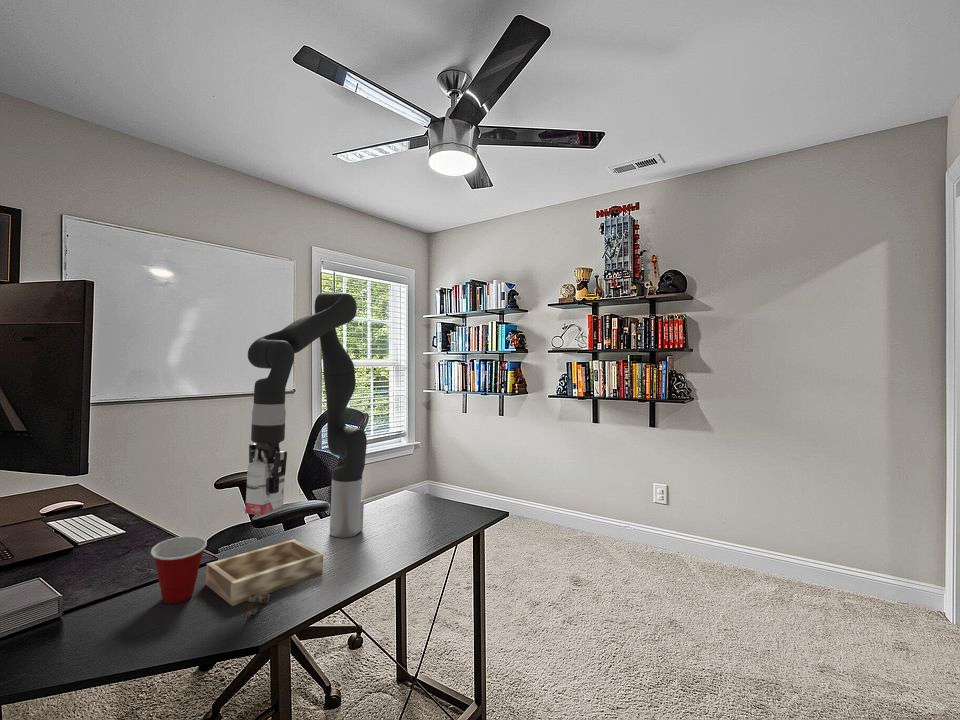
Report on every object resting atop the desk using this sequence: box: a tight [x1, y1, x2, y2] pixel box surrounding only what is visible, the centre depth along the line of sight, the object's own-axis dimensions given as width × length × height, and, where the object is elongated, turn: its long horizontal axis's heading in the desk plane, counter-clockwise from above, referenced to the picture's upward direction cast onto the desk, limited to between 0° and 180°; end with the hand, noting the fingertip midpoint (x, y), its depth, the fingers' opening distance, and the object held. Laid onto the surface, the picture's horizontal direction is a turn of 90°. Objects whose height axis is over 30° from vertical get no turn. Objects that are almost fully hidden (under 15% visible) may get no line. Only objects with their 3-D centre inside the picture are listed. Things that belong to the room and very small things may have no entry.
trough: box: [205, 538, 324, 607], centre depth 120 cm, size 22×14×5 cm, turn 140°
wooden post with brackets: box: [245, 594, 271, 619], centre depth 106 cm, size 2×8×4 cm, turn 178°
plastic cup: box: [150, 535, 208, 604], centre depth 110 cm, size 11×11×12 cm
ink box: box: [244, 461, 286, 516], centre depth 119 cm, size 9×5×12 cm, turn 168°
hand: (265, 489), depth 119 cm, fingers closed on ink box, 6 cm apart
